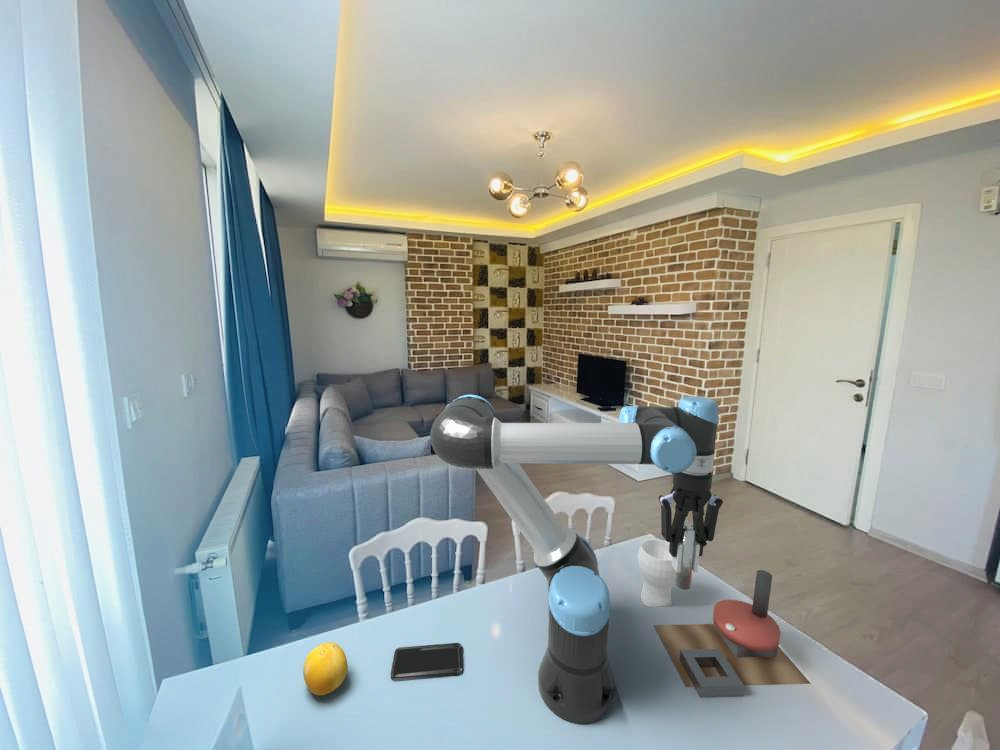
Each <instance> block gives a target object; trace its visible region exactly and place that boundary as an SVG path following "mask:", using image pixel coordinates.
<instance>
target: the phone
mask: <svg viewBox="0 0 1000 750" xmlns="http://www.w3.org/2000/svg"><path fill="white" fill-rule="evenodd" d="M393 653H394V654H393V659H392V665H391V668H390V669H391V670H390V680H391V681H393V682H402V681H404V682H405V681H415V680H425V679H426V680H427V679H435V678H447V677H448V678H449V677H458V676H460V675H462V673H463V645H462V643H460V642H452V643H451V642H450V643H435V644H426V645H425V644H424V645H412V646H411V645H410V646H401V647H400V646H399V647H397V648H396V649H395V650H394V652H393Z"/></svg>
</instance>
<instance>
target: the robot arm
mask: <svg viewBox="0 0 1000 750" xmlns="http://www.w3.org/2000/svg"><path fill="white" fill-rule="evenodd" d="M678 401H679V402H678V405H677V406H651V405H650V406H646V405H645V406H644V405H639V404H638V405H628V406H627V405H625V406H623V407H622V408H621V410H620V413H619V417H618V418H619V420H618V422H502V421H500V420H499V419H498V418H497V415H496V412H495V409H494V407H493V405H492V404H491V403H490V401H488V400H487V399H486V398H484V397H483V396H479V395H476V394H464V395H462V396H459V397H457V398H456V399H453V400H452V401H451V402H449V403H448V404H447V405H446V407H445V408H444V409H443V411H442V412H441V413H440V414H439V415H438V416H436V418H435V419H434V421H433V423H432V426H431V428H430V444H431V447H432V449H433V451H434V453H435V454H436V456H437V457H438V458H439V459H440V460H442V461H443V462H444V463H445V464H448V465H450V466H452V467H453V466H454V467H457V468H463V469H465V468H466V469H474V470H475V471H476V472H477V473H478V475H479V476H480V477H481V479H482V480H483V481H484V483H485V484H486V486H487V487H488V488H489V490H490V491H491V492H492V493H493V495H494V497H496V500H498V502H499V503H500V505H501V506H502V507H503V509H504V510H505V512H506V513H507V514H508V515H509V517H510V518H511V520H512V522H513V523H514V524H515V525H516V527H517V528H518V529H519V531H520V532H521V535H523V536H524V538H525V540H526V541H527V542H528V544H529V545H530V546H531V547H532V549H533V550H534V552H533V561H534V564H535V565H536V566H537V568H538V569H539V571H540V572H541V573H542V575H543V576H544V577H545V578H546V580H547V588H548V589H547V591H548V594H547V595H548V599H547V600H548V632H547V633H548V635H547V648H546V651H545V653H544V655H543V657H542V660H541V662H540V665H539V669H538V679H537V681H538V683H537V684H538V692H539V694H540V696H541V699H542V701H543V702H544V704H545V705H546V707H548V709H549V710H550V711H551V712H553V714H554V715H557V716H558V717H559V718H561V719H562V720H565V721H568V722H571V723H575V724H581V725H582V724H592V723H594V722H598V721H600V720H601V719H602V718H604V717H606V715H607V714H608V713H609V712H610V710H611V709H612V705H613V702H614V693H615V691H614V690H615V687H614V686H615V685H614V679H613V676H612V671H611V668H610V666H609V663H608V658H607V656H608V653H607V652H608V638H609V637H608V636H609V621H610V614H611V597H610V592H609V588H608V585H607V583H606V581H604V579H603V577H601V575H600V571H599V565H598V559H597V556H596V552H595V551H594V549H593V546H591V544H590V543H589V541H588V540H587V539H586V538H584V537H583V536H581V535H579V534H577V532H576V531H575V529H574V528H572V527H566V526H564V525H563V524H562V522H561V521H560V520H559V518H558V517H557V515H556V514H555V513H554V511H553V510H552V508H551V507H550V505H549V504H548V502H547V501H546V500H545V498H544V497H543V496H542V494H541V492H540V491H539V489H537V487H536V486H535V484H534V483H533V482H532V480H531V478H530V477H529V476H528V475H527V473H526V472H525V470H524V469H523V467H522V466H521V464H532V465H533V464H541V465H542V464H545V465H546V464H547V465H549V464H551V465H553V464H555V465H556V464H557V465H560V464H561V465H564V464H565V465H569V464H570V465H571V464H572V465H653V466H656V467H657V468H658V469H660V470H662V471H663V472H666V473H670V474H673V476H672V489H670V490H671V491H670V492H669V493H670V494H669V493H668V494H667V495H665V496H664V495H662V494H660V495H659V496H658V501H659V504H660V513H661V514H660V515H661V517H660V518H661V519H660V520H661V521H660V522H661V526H660V527H661V530H660V531H661V536H662V537H663V539H664V541H666V542H669V543H670V545H669V552H670V554H671V555H672V564H671V565H672V566H673V568H674V569H675V570H676V572H680V571H681V559H682V548H683V545H682V544H681V543H680V538H681V534H682V530H683V527H684V523H685V519H686V518H687V517H688V516H689V513H690V512H691V514H692V526H694V527H695V528H696V533H695V544H694V555H693V566H692V572H694V573H698V572H699V560H700V557H702V556H703V553H704V547H706V546H707V544H708V543H707V542H712V541H713V540H714V537H715V533H716V528H717V527H716V526H717V521H718V516H719V510H720V508H721V507H722V505H723V503H724V500H723V499H721V498H720V497H719V496H718V495H717V494H712V492H711V489H712V487H713V486H712V485H713V473H712V472H713V471H714V461H715V460H714V459H715V453H716V452H715V448H716V442H717V441H716V440H717V433H718V432H717V431H718V425H719V404H718V403H717V401H715V400H714V399H712V398H707V397H703V396H702V397H701V396H692V395H691V396H684V397H683V396H682V397H681V398H680V399H679V400H678ZM673 501H674V503H675V506H674V510H675V511H674V515H672V514H673V513H672V507H673ZM705 506H706V509H705ZM672 516H673V517H672ZM704 516H705V517H704ZM672 518H673V519H672ZM686 520H687V519H686Z"/></svg>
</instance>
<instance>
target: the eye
mask: <svg viewBox="0 0 1000 750" xmlns="http://www.w3.org/2000/svg"><path fill="white" fill-rule="evenodd" d="M679 660H680V662H681V664H682V666H683V667H684V669H685V671H686V673H687V675H688V676H689V678H690V680H691V682H692V684H693V686H694V687H693V688H694V689H695V691H696V692H697V695H698V697H699V698H727V697H728V698H729V697H743V696H744V690H745V685H744V684H743V683H742V681H741V680H740V678H739V677H738V676H737V674H736V673H735V671H734V670H733V668H732V667H731V665H730V664H729V662H728V661H727V659H726V658H725V657H724V655H723V654H722V652H721V651H720V649H689V650H680V658H679ZM700 667H714V668H715V669H716V671H717V672H718V674H719V675H720V677H705V675H704V673H703V672H702V670H701V668H700Z"/></svg>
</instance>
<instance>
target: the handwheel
mask: <svg viewBox="0 0 1000 750" xmlns="http://www.w3.org/2000/svg"><path fill="white" fill-rule="evenodd" d="M772 582H773V575H772V574H771V572H768V571H766V570H763V569H760V570H759V569H758V570H756V575H755V583H754V592H753V598H752V600H753V601H752V604H751V603H749V602H746V601H742V600H737V599H723V600H720V601H718V602H716V603H715V604H714V607H713V613H712V621H713V624H715V626H716V627H717V629H718V630H719V631H720V632H721V633H722V634H723V635H724V636H725V637H726V638H728V639H729V640H730V641H732V642H734V643H735V644H737V645H739V646H742V647H744V648H747V649H750V650H754V651H761V652H766V651H771V650H774V649H775V648H777V646H779V645H780V640H781V629H780V627H779V625H778V623H777V622H776V620H775V619H774V618H773V617H772V616H771V615H769V614H768V613H769V605H770V596H771V591H772V590H771V589H772Z"/></svg>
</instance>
